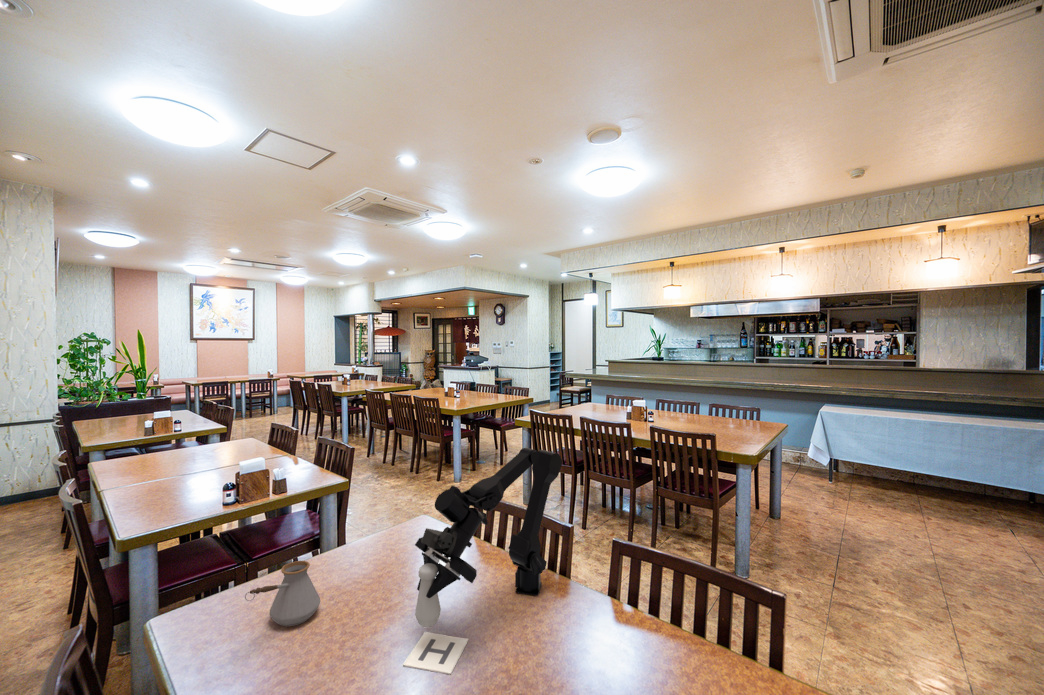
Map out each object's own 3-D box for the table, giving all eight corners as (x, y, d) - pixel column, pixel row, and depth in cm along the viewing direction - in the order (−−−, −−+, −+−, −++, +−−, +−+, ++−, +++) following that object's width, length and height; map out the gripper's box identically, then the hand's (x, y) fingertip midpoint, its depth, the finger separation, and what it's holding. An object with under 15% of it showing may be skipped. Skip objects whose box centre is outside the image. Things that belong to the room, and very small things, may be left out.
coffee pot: (290, 601, 117) (290, 546, 117) (329, 605, 115) (329, 549, 115) (224, 657, 96) (225, 590, 96) (271, 663, 94) (271, 594, 94)
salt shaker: (439, 629, 98) (439, 572, 98) (413, 631, 97) (413, 573, 97) (441, 613, 104) (441, 559, 103) (417, 614, 103) (417, 560, 103)
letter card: (468, 640, 102) (468, 638, 102) (450, 674, 91) (450, 673, 91) (425, 633, 104) (425, 631, 104) (402, 666, 94) (402, 664, 94)
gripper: (421, 504, 110) (380, 563, 102) (466, 526, 96) (422, 596, 89) (447, 526, 115) (410, 583, 108) (493, 550, 102) (454, 617, 94)
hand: (423, 594), depth 99 cm, fingers closed on salt shaker, 3 cm apart
